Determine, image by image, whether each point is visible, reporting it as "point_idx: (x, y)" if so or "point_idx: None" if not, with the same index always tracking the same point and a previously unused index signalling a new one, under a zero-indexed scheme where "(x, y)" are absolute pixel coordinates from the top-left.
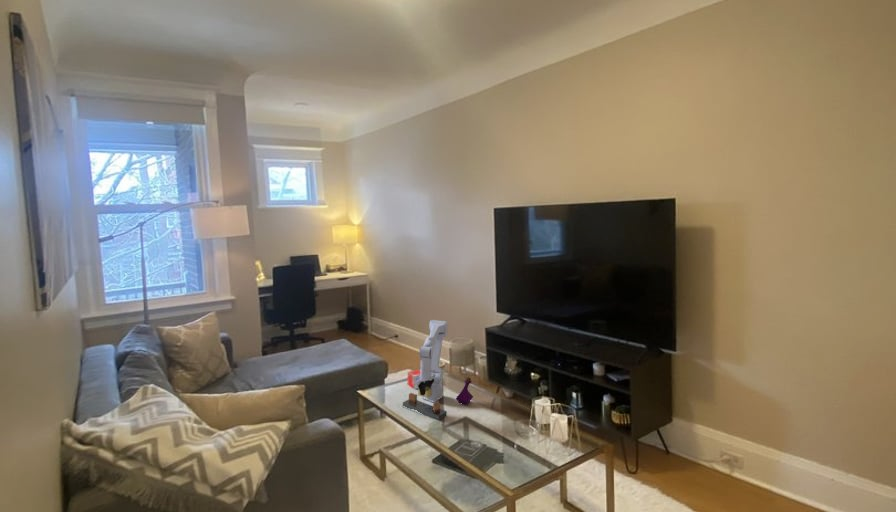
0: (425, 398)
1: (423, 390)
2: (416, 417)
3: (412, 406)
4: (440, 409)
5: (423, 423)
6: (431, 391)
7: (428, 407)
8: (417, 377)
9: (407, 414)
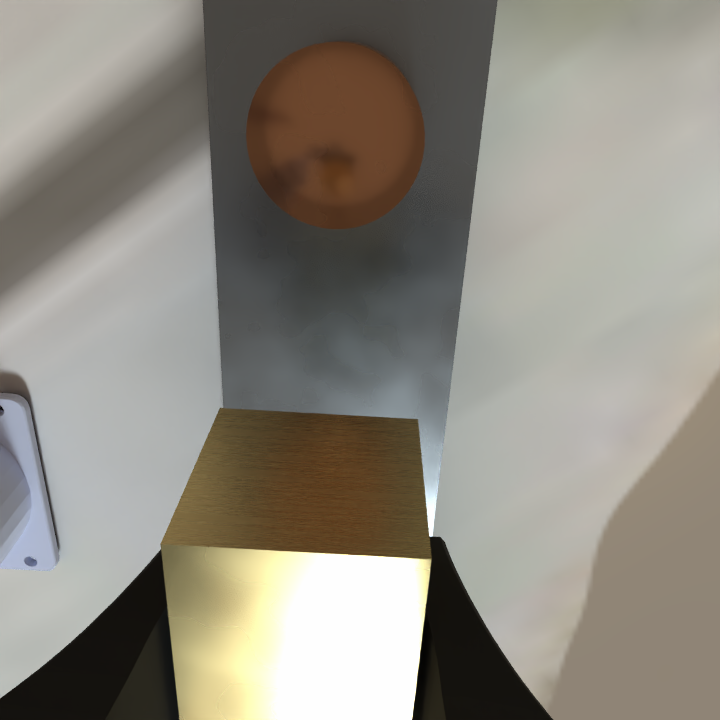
0: (38, 535)
1: (502, 655)
2: (575, 340)
3: (431, 529)
4: (226, 99)
5: (708, 138)
6: (214, 484)
7: (310, 329)
8: None
9: (560, 478)
